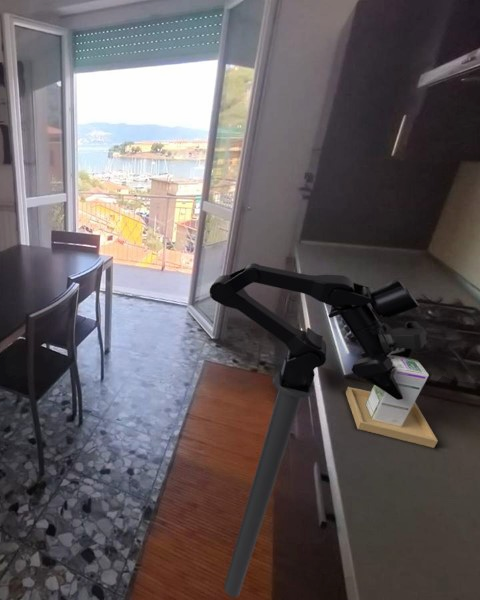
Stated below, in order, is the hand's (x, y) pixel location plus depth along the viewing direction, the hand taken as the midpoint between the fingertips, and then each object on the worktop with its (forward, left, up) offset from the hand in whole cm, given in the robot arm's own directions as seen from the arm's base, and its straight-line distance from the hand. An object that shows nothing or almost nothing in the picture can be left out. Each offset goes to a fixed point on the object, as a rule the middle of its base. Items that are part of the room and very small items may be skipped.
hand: (407, 390), depth 77 cm
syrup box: (-2, 0, -8) cm, 9 cm away
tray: (-1, +1, -9) cm, 9 cm away
